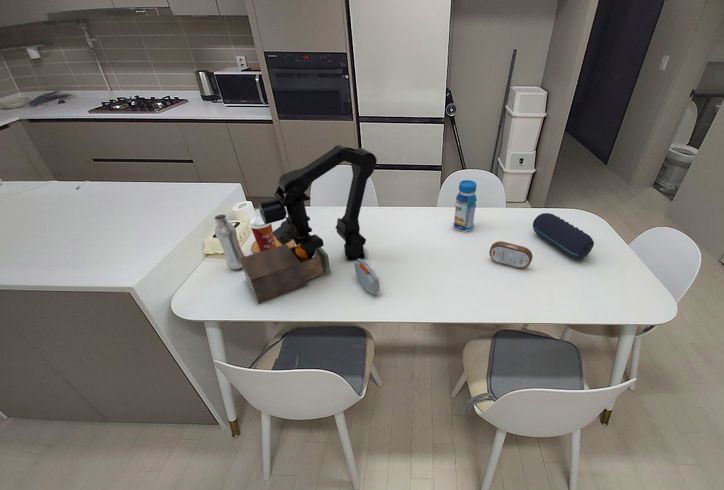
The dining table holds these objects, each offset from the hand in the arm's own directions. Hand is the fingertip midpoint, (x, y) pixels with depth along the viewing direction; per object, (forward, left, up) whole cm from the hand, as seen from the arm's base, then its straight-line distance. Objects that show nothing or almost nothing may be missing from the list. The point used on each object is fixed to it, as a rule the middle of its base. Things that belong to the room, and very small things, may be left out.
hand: (305, 255), depth 119 cm
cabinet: (+11, +4, -7) cm, 14 cm away
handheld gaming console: (-19, +12, -7) cm, 24 cm away
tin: (-71, +11, -7) cm, 72 cm away
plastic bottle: (+25, -9, -7) cm, 28 cm away
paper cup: (+15, -16, -7) cm, 23 cm away
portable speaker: (-96, +4, -7) cm, 96 cm away
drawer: (+1, 0, -6) cm, 6 cm away
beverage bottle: (-64, -18, -7) cm, 67 cm away
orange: (-2, -1, 0) cm, 2 cm away
